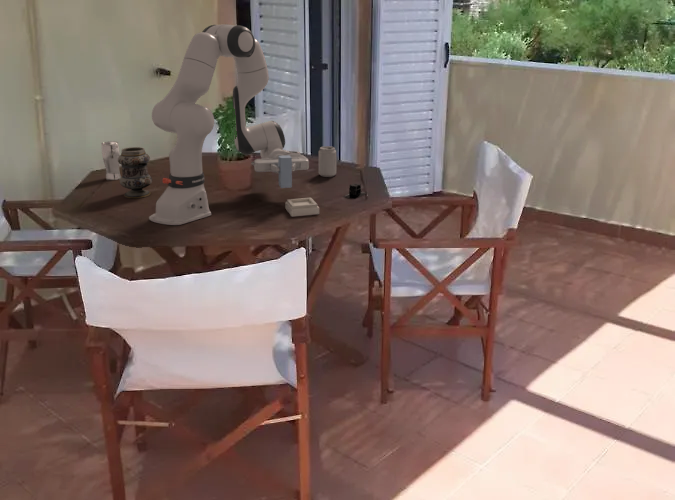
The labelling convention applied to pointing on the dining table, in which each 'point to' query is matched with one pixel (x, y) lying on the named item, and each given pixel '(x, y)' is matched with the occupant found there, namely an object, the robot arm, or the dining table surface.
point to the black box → (354, 191)
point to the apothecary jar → (135, 171)
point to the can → (327, 161)
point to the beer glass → (111, 159)
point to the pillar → (285, 171)
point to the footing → (301, 207)
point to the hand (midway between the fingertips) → (285, 169)
